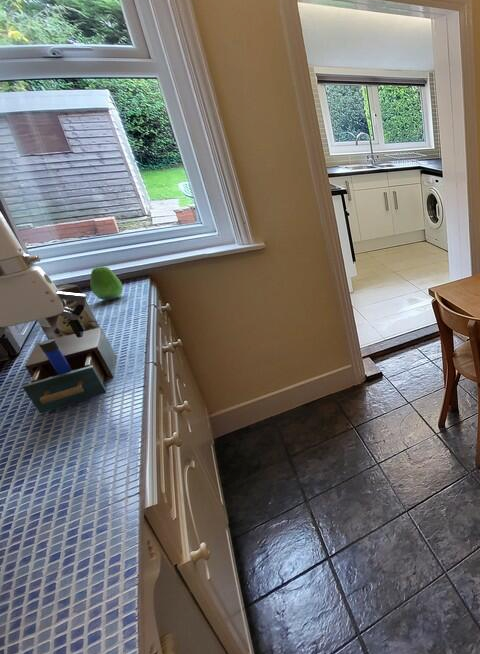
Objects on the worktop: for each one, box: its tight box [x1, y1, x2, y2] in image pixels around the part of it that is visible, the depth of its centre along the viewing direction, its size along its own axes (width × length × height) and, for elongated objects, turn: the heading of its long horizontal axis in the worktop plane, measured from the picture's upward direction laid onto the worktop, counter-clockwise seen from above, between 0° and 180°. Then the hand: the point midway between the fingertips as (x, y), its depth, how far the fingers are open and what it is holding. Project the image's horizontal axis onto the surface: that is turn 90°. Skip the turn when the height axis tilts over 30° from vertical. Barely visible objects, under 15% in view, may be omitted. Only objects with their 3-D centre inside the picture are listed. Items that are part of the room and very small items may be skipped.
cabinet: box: [24, 326, 117, 381], centre depth 98 cm, size 14×12×9 cm
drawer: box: [22, 351, 108, 415], centre depth 90 cm, size 17×10×7 cm, turn 40°
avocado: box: [89, 266, 123, 301], centre depth 143 cm, size 8×8×12 cm
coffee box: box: [36, 283, 101, 340], centre depth 112 cm, size 9×6×16 cm
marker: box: [38, 339, 72, 375], centre depth 89 cm, size 2×2×12 cm
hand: (49, 343), depth 87 cm, fingers open, 9 cm apart
